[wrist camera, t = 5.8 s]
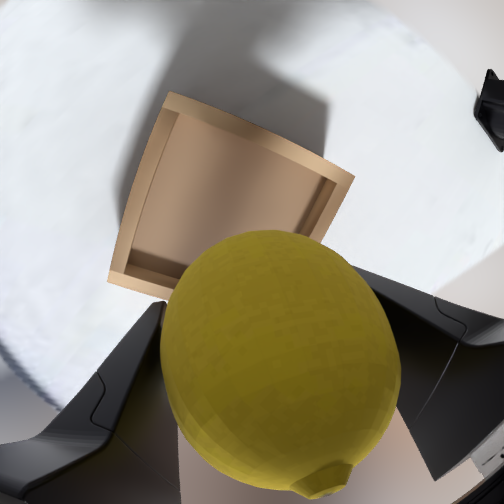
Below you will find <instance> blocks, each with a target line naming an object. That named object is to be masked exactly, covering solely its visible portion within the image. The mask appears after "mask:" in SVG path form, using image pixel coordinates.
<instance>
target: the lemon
mask: <svg viewBox="0 0 504 504" xmlns="http://www.w3.org/2000/svg"><path fill="white" fill-rule="evenodd" d="M160 359H161V367H162V373H163V378H164V382H165V387H166V391H167V396H168V400H169V403H170V406H171V409H172V412H173V415H174V417H175V420H176V422H177V424H178V426H179V428H180V430H181V431H182V433H183V435H184V436H185V438H186V440H187V441H188V442H189V443H190V444H191V445H192V447H193V448H194V449H195V450H196V451H197V452H198V453H199V455H200V456H201V457H202V458H203V459H204V460H205V461H206V462H208V463H209V464H210V465H211V466H213V467H214V468H216V469H217V470H218V471H220V472H222V473H224V474H226V475H228V476H230V477H232V478H234V479H236V480H238V481H241V482H243V483H246V484H250V485H252V486H255V487H260V488H267V489H275V490H292V491H294V492H296V493H298V494H300V495H302V496H304V497H306V498H308V499H316V498H321V497H325V496H329V495H331V494H333V493H335V492H337V491H339V490H341V489H342V488H344V487H345V485H346V484H347V481H348V479H349V476H350V474H351V471H352V469H353V468H354V467H355V466H356V465H357V464H358V463H359V462H361V461H362V460H363V459H364V458H365V457H366V456H367V455H368V454H369V453H370V452H371V450H372V449H373V448H374V447H375V446H376V445H377V443H378V442H379V440H380V439H381V437H382V436H383V434H384V432H385V431H386V429H387V427H388V425H389V423H390V421H391V419H392V416H393V414H394V411H395V408H396V404H397V399H398V395H399V390H400V385H401V364H400V358H399V352H398V349H397V346H396V342H395V339H394V336H393V333H392V330H391V327H390V324H389V321H388V319H387V316H386V314H385V312H384V310H383V308H382V306H381V304H380V302H379V300H378V298H377V297H376V295H375V294H374V292H373V291H372V289H371V288H370V286H369V285H368V284H367V283H366V281H365V280H364V279H363V278H362V277H361V276H360V275H359V274H358V273H357V272H356V270H355V269H354V268H353V267H352V266H351V265H350V264H349V263H348V262H347V261H346V260H345V259H344V258H343V257H342V256H340V255H339V254H338V253H336V252H335V251H333V250H331V249H330V248H328V247H326V246H324V245H322V244H320V243H318V242H316V241H315V240H313V239H311V238H309V237H307V236H304V235H301V234H296V233H291V232H286V231H280V230H258V231H248V232H244V233H241V234H238V235H235V236H231V237H228V238H226V239H224V240H222V241H220V242H219V243H217V244H215V245H214V246H212V247H210V248H209V249H207V250H206V251H204V252H203V253H202V254H201V255H200V256H199V257H198V258H197V259H196V260H195V261H194V262H193V263H192V264H191V265H190V266H189V267H188V268H187V269H186V270H185V272H184V273H183V275H182V277H181V278H180V280H179V282H178V284H177V285H176V287H175V289H174V291H173V292H172V294H171V296H170V299H169V301H168V304H167V308H166V312H165V317H164V322H163V327H162V333H161V341H160Z"/></svg>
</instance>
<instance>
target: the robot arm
mask: <svg viewBox="0 0 504 504" xmlns="http://www.w3.org/2000/svg"><path fill="white" fill-rule="evenodd" d="M475 118H476V120H477V121H478V122H479V124H480V125H481V127H482V128H483V129H484V131H485V132H486V134H487V135H488V136H489V138H490V139H491V141H492V142H493V144H494V145H495V147H496V148H497V150H498V151H499V152H503V151H504V80H499V79H498V77H497V76H496V74H495V73H494V71H493V70H492V69H488V70H487V73H486V77H485V81H484V84H483V88H482V91H481V95H480V98H479V102H478V105H477V108H476V111H475ZM351 266H352V265H351ZM352 267H353V268H354V269H355V270H356V272H357V273H358V274H359V275H360V276H361V277H362V278H363V279H364V280H365V281H366V283H367V284H368V285H369V286H370V288H371V289H372V291H373V292H374V294H375V295H376V297H377V298H378V300H379V302H380V304H381V306H382V308H383V310H384V312H385V314H386V316H387V319H388V321H389V324H390V327H391V330H392V333H393V336H394V339H395V342H396V346H397V349H398V352H399V358H400V364H401V385H400V390H399V395H398V399H397V404H396V407H397V408H398V410H399V412H400V414H401V416H402V418H403V420H404V422H405V424H406V426H407V427H408V429H409V431H410V434H411V435H412V437H413V439H414V441H415V443H416V445H417V447H418V449H419V451H420V453H421V455H422V457H423V459H424V461H425V463H426V465H427V467H428V469H429V471H430V473H431V476H432V477H433V479H434V481H437V480H438V479H440V478H441V477H443V476H444V475H446V474H447V473H449V472H450V471H452V470H453V469H454V468H456V467H457V466H459V465H460V464H462V463H463V462H464V461H466V460H467V459H468V458H471V459H472V460H473V462H474V464H475V466H476V467H477V469H478V471H479V472H480V473H482V475H483V476H484V479H483V480H482V481H481V482H480V483H478V484H477V485H476V486H475V487H473V488H472V489H471V490H470V491H468V492H467V493H466V494H464V495H463V496H462V497H460V498H459V499H457V500H456V501H455V502H453V503H452V504H504V319H501V318H498V317H494V316H491V315H488V314H485V313H482V312H478V311H475V310H472V309H469V308H466V307H462V306H460V305H457V304H454V303H451V302H448V301H446V300H443V299H440V298H438V297H434V296H433V295H430V294H427V293H425V292H422V291H419V290H417V289H414V288H412V287H409V286H406V285H404V284H401V283H398V282H396V281H393V280H390V279H388V278H385V277H382V276H379V275H377V274H374V273H371V272H369V271H366V270H363V269H360V268H358V267H355V266H352ZM166 308H167V303H166V302H165V301H160V302H154V303H152V304H151V305H150V306H149V308H148V309H147V310H146V311H145V312H144V313H143V315H142V316H141V317H140V318H139V319H138V321H137V322H136V323H135V324H134V325H133V326H132V328H131V329H130V330H129V331H128V332H127V334H126V335H125V336H124V337H123V338H122V340H121V341H120V342H119V343H118V345H117V346H116V347H115V348H114V349H113V351H112V352H111V353H110V354H109V356H108V357H107V358H106V359H105V361H104V362H103V363H102V364H101V366H100V367H99V368H98V369H97V372H95V373H94V374H93V375H92V377H91V378H90V379H89V380H88V382H87V383H86V384H85V385H84V386H83V388H82V389H81V390H80V391H79V392H78V393H77V395H76V396H75V397H74V398H73V399H72V400H71V401H70V402H69V403H68V404H67V406H66V407H65V408H64V409H63V410H62V411H61V412H60V413H59V414H58V415H57V416H56V417H55V418H54V419H53V420H52V422H51V423H50V424H49V425H48V426H47V427H46V428H45V429H44V430H43V431H42V432H41V433H39V434H38V435H36V436H35V437H33V438H30V439H28V440H23V441H19V442H13V443H7V444H1V445H0V504H181V494H180V479H179V459H178V424H177V422H176V420H175V417H174V415H173V412H172V409H171V406H170V403H169V400H168V396H167V391H166V387H165V382H164V378H163V373H162V367H161V359H160V341H161V333H162V327H163V322H164V317H165V312H166Z"/></svg>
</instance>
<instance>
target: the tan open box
mask: <svg viewBox="0 0 504 504" xmlns="http://www.w3.org/2000/svg"><path fill="white" fill-rule="evenodd" d="M354 178H355V176H354V175H352V174H350V173H349V172H347V171H345V170H343V169H342V168H340V167H338V166H336V165H335V164H333V163H331V162H329V161H327V160H326V159H324V158H322V157H320V156H318V155H316V154H314V153H312V152H311V151H309V150H307V149H305V148H303V147H301V146H299V145H297V144H295V143H293V142H291V141H289V140H287V139H285V138H283V137H281V136H279V135H277V134H275V133H272V132H270V131H268V130H266V129H264V128H262V127H260V126H257V125H255V124H253V123H251V122H248V121H246V120H244V119H241V118H239V117H237V116H234V115H232V114H230V113H227V112H225V111H222V110H220V109H217V108H215V107H212V106H210V105H207V104H205V103H202V102H199V101H197V100H194V99H191V98H189V97H186V96H183V95H180V94H177V93H175V92H172V91H169V92H168V94H167V97H166V99H165V101H164V103H163V106H162V108H161V110H160V113H159V115H158V117H157V120H156V122H155V125H154V127H153V130H152V132H151V135H150V137H149V140H148V142H147V145H146V148H145V150H144V153H143V156H142V159H141V161H140V164H139V167H138V170H137V173H136V176H135V179H134V182H133V185H132V188H131V191H130V194H129V198H128V201H127V204H126V208H125V211H124V215H123V218H122V222H121V225H120V229H119V233H118V237H117V241H116V245H115V249H114V253H113V257H112V261H111V266H110V270H109V275H108V280H107V282H109V283H112V284H115V285H118V286H121V287H124V288H127V289H131V290H134V291H137V292H141V293H144V294H147V295H151V296H154V297H157V298H161V299H164V300H168V301H169V299H170V296H171V294H172V292H173V291H174V289H175V287H176V285H177V284H178V282H179V280H180V278H181V277H182V275H183V273H184V272H185V270H186V269H187V268H188V267H189V266H190V265H191V264H192V263H193V262H194V261H195V260H196V259H197V258H198V257H199V256H200V255H201V254H202V253H203V252H204V251H206V250H207V249H209V248H210V247H212V246H214V245H215V244H217V243H219V242H220V241H222V240H224V239H226V238H228V237H231V236H235V235H238V234H241V233H244V232H248V231H258V230H280V231H286V232H291V233H296V234H301V235H304V236H307V237H309V238H311V239H313V240H315V241H316V242H318V243H321V241H322V239H323V237H324V236H325V234H326V232H327V230H328V228H329V226H330V224H331V223H332V221H333V219H334V217H335V215H336V213H337V211H338V209H339V207H340V205H341V204H342V202H343V200H344V198H345V196H346V194H347V192H348V190H349V188H350V186H351V184H352V182H353V180H354Z"/></svg>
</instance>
